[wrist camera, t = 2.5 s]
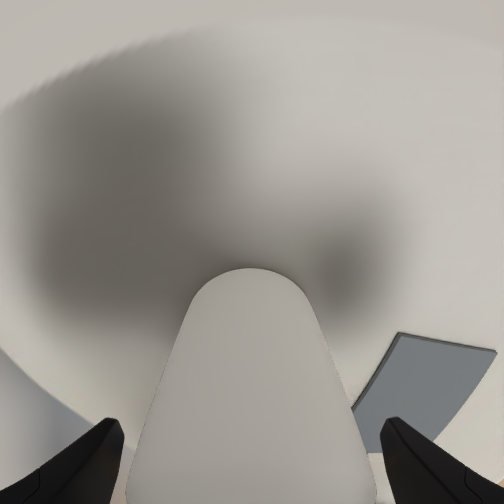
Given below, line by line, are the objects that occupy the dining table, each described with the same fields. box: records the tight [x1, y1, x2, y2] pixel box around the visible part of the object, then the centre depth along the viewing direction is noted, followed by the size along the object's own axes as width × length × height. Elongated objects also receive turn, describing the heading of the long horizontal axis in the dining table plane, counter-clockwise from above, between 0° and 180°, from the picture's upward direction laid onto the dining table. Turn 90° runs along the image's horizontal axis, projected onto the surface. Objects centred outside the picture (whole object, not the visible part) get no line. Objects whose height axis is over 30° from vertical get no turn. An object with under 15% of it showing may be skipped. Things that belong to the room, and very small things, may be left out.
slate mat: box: [351, 333, 498, 453], centre depth 17 cm, size 11×11×1 cm
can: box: [125, 268, 377, 504], centre depth 9 cm, size 6×6×12 cm
